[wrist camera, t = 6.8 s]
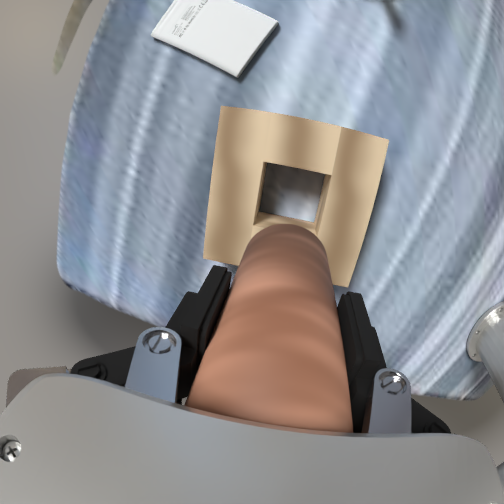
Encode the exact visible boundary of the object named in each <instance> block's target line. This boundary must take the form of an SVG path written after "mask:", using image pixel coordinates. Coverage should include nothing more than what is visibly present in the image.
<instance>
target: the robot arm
mask: <svg viewBox="0 0 504 504" xmlns="http://www.w3.org/2000/svg"><path fill="white" fill-rule="evenodd" d="M230 282H231V272H228V271H227V268H226V267H221V266H216V265H213V267H212V269H211V270H210V272H209V274H208V276H207V278H206V279H205V281H204V283H203V285H202V287H201V288H200V290H199V292H198V293H194V292H189V291H188V292H187V293H186V294H185V296H184V297H183V299H182V301H181V302H180V304H179V306H178V307H177V309H176V311H175V312H174V314H173V316H172V317H171V319H170V321H169V322H168V324H167V326H166V327H165V328H164V327H154V328H150V329H147V330H145V331H144V332H143V333H142V334H140V336H139V338H138V341H137V344H136V346H135V347H132V348H127V349H124V350H120V351H116V352H112V353H108V354H104V355H100V356H96V357H92V358H87V359H84V360H81V361H79V362H78V363H76V364H75V365H74V366H73V367H72V369H67V367H66V366H60V367H46V368H32V369H20V370H17V371H15V372H14V373H12V375H11V376H10V377H9V380H8V387H7V399H6V409H5V410H4V411H3V413H2V414H1V415H0V504H504V462H503V463H501V464H500V465H499V466H497V467H496V465H495V463H494V460H493V458H492V456H491V454H490V452H489V450H488V449H487V448H486V446H485V445H483V444H482V443H481V442H479V441H477V440H475V439H472V438H469V437H466V436H463V435H457V434H451V432H450V429H449V427H448V426H447V425H446V424H445V423H444V422H443V421H442V420H441V419H439V418H438V417H436V416H435V415H434V414H432V413H431V412H430V411H428V410H427V409H425V408H424V407H423V406H422V405H420V404H419V403H418V402H416V401H415V400H414V399H412V398H411V386H410V382H409V380H408V379H407V377H406V376H405V375H404V374H402V373H401V372H399V371H397V370H395V369H390V368H386V364H385V360H384V357H383V353H382V350H381V346H380V343H379V339H378V336H377V333H376V330H375V328H374V327H372V326H371V324H370V320H369V317H368V314H367V310H366V307H365V304H364V301H363V298H362V295H361V294H359V293H354V292H347V294H346V295H345V294H342V296H341V298H340V301H339V304H338V307H337V311H338V317H339V323H340V329H341V335H342V342H343V348H344V355H345V362H346V370H347V378H348V386H349V394H350V403H351V413H352V423H353V433H346V432H331V431H320V430H309V429H300V428H292V427H285V426H278V425H271V424H265V423H259V422H254V421H248V420H243V419H238V418H233V417H228V416H224V415H219V414H215V413H211V412H207V411H203V410H199V409H195V408H191V407H187V406H184V405H182V398H185V397H188V395H189V392H190V389H191V387H192V384H193V382H194V379H195V376H196V374H197V371H198V369H199V366H200V364H201V361H202V358H203V356H204V353H205V351H206V348H207V346H208V343H209V340H210V338H211V335H212V333H213V330H214V328H215V325H216V323H217V320H218V317H219V315H220V312H221V310H222V307H223V305H224V302H225V300H226V297H227V295H228V292H229V289H230ZM467 352H468V354H469V356H470V358H471V359H473V360H474V361H477V362H482V361H483V363H484V365H485V367H486V369H487V371H488V373H489V375H490V376H491V378H492V380H493V382H494V384H495V386H496V388H497V390H498V392H499V394H500V397H501V399H502V401H503V403H504V301H503V302H500V303H498V304H496V305H495V306H493V307H492V308H490V309H489V310H488V311H487V312H486V313H484V315H483V316H482V317H481V318H480V319H479V320H478V321H477V323H476V324H475V326H474V327H473V329H472V331H471V333H470V335H469V338H468V341H467Z"/></svg>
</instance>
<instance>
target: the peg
mask: <svg viewBox="0 0 504 504" xmlns="http://www.w3.org/2000/svg"><path fill="white" fill-rule="evenodd" d="M184 406H187V407H191V408H195V409H199V410H203V411H207V412H211V413H215V414H219V415H224V416H228V417H233V418H238V419H243V420H248V421H254V422H259V423H265V424H271V425H278V426H285V427H292V428H300V429H309V430H320V431H331V432H346V433H353V423H352V413H351V403H350V394H349V386H348V378H347V370H346V362H345V355H344V348H343V342H342V335H341V329H340V323H339V317H338V311H337V305H336V300H335V294H334V289H333V283H332V278H331V273H330V268H329V263H328V258H327V254H326V250H325V248H324V246H323V244H322V242H321V241H320V240H319V238H318V237H317V236H316V235H315V234H313V233H312V232H311V231H309V230H307V229H306V228H303V227H301V226H298V225H294V224H276V225H272V226H269V227H266V228H264V229H262V230H261V231H259V232H258V233H257V234H255V235H254V236H253V237H252V239H251V240H250V241H249V243H248V245H247V247H246V249H245V252H244V254H243V257H242V259H241V262H240V264H239V267H238V269H237V272H236V274H235V277H234V279H233V282H232V284H231V287H230V289H229V292H228V295H227V297H226V300H225V302H224V305H223V307H222V310H221V312H220V315H219V317H218V320H217V323H216V325H215V328H214V330H213V333H212V335H211V338H210V340H209V343H208V346H207V348H206V351H205V353H204V356H203V358H202V361H201V364H200V366H199V369H198V371H197V374H196V376H195V379H194V382H193V384H192V387H191V389H190V392H189V395H188V397H187V400H186V402H185V405H184Z"/></svg>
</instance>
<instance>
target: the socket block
mask: <svg viewBox="0 0 504 504" xmlns="http://www.w3.org/2000/svg"><path fill="white" fill-rule="evenodd" d="M388 143H389V140H387V139H384V138H381V137H377V136H374V135H370V134H367V133H363V132H360V131H356V130H352V129H348V128H344V127H340V126H336V125H332V124H328V123H323V122H319V121H314V120H309V119H304V118H299V117H294V116H289V115H283V114H277V113H271V112H265V111H258V110H251V109H244V108H236V107H227V106H221V111H220V118H219V124H218V131H217V139H216V146H215V154H214V161H213V169H212V177H211V186H210V195H209V204H208V213H207V223H206V233H205V243H204V254H203V258H204V259H209V260H213V261H218V262H223V263H228V264H233V265H237V266H239V264H240V262H241V259H242V257H243V254H244V252H245V249H246V247H247V245H248V243H249V241H250V240H251V239H252V237H253V236H254V235H255V234H257V233H258V232H259V231H261V230H262V229H264V228H266V227H269V226H272V225H276V224H294V225H298V226H301V227H303V228H306V229H307V230H309V231H311V232H312V233H313V234H315V235H316V236H317V237H318V238H319V240H320V241H321V242H322V244H323V246H324V248H325V250H326V254H327V258H328V263H329V268H330V273H331V278H332V283H333V285H338V286H343V287H348V286H349V283H350V280H351V277H352V274H353V271H354V268H355V265H356V262H357V259H358V256H359V253H360V250H361V246H362V243H363V240H364V237H365V233H366V230H367V226H368V223H369V220H370V216H371V212H372V209H373V205H374V201H375V198H376V194H377V190H378V186H379V182H380V178H381V174H382V170H383V165H384V161H385V157H386V152H387V147H388ZM267 162H269V163H274V164H280V165H285V166H290V167H295V168H300V169H305V170H310V171H314V172H319V173H323V174H325V177H324V181H323V186H322V191H321V195H320V200H319V204H318V208H317V213H316V217H315V221H314V223H313V222H309V221H304V220H299V219H294V218H289V217H284V216H279V215H274V214H269V213H264V212H259V208H260V202H261V196H262V190H263V184H264V178H265V172H266V167H267Z"/></svg>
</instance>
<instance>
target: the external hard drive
mask: <svg viewBox="0 0 504 504" xmlns="http://www.w3.org/2000/svg"><path fill="white" fill-rule="evenodd" d="M278 24H279V23H278V21H277V20H275V19H273V18H271V17H269V16H267V15H264V14H262V13H260V12H258V11H256V10H254V9H251V8H249V7H247V6H245V5H242V4H240V3H238V2H235V1H233V0H175V1H174V2H173V3H172V5H171V6H170V7H169V9H168V10H167V11H166V13H165V14H164V16H163V17H162V18H161V20H160V21H159V23H158V24H157V26H156V27H155V29H154V30H153V32H152V34H151V36H152V37H154V38H156V39H159V40H161V41H163V42H166V43H168V44H170V45H172V46H175V47H177V48H179V49H181V50H183V51H186V52H188V53H190V54H192V55H194V56H196V57H198V58H200V59H202V60H204V61H206V62H208V63H210V64H212V65H214V66H216V67H218V68H220V69H222V70H224V71H226V72H228V73H229V74H231V75H233V76H235V77H237V78H239V76H240V75H241V73H242V72H243V71H244V69H245V68H246V66H247V65H248V63H249V62H250V61H251V59H252V58H253V57H254V55H255V54H256V52H257V51H258V50H259V48H260V47H261V46H262V44H263V43H264V42H265V40H266V39H267V38H268V36H269V35H270V34H271V33H272V31H273V30H274V29H275V28H276V26H277V25H278Z"/></svg>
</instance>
